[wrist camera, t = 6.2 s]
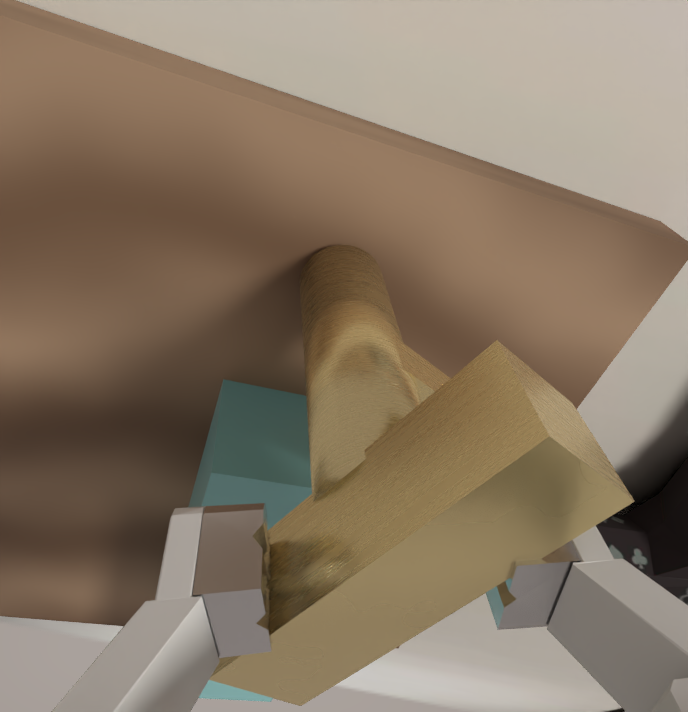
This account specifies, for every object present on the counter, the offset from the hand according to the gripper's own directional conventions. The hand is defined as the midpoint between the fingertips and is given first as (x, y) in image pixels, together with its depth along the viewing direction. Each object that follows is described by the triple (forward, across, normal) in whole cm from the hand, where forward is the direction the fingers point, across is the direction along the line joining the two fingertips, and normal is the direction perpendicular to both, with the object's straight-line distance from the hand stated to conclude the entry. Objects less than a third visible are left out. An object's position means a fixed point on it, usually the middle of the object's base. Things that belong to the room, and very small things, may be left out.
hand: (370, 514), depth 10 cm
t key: (+8, -2, +2) cm, 9 cm away
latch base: (+10, +2, +7) cm, 13 cm away
